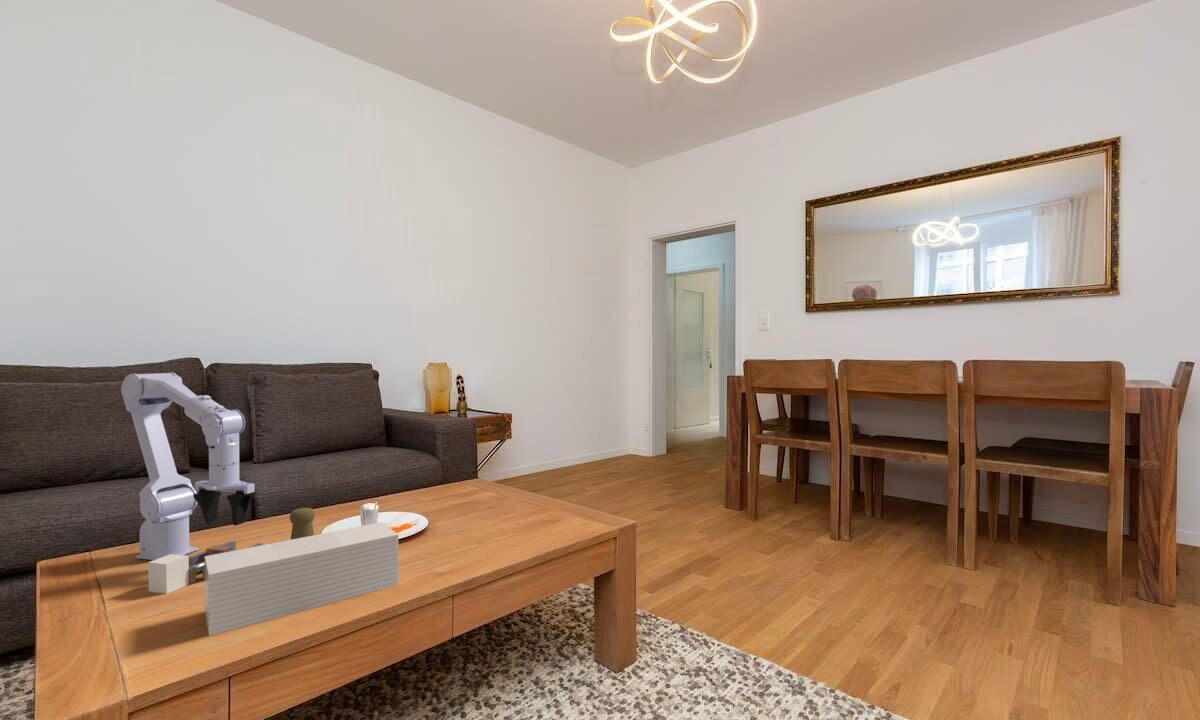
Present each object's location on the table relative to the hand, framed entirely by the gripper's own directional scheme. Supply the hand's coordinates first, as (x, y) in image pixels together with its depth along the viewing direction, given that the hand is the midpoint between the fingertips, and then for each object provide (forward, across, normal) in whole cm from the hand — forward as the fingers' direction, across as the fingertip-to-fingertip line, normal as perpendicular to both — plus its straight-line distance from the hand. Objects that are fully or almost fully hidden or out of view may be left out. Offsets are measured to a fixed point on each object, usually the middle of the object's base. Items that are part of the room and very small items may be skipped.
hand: (224, 522), depth 123 cm
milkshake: (+10, +22, +22) cm, 32 cm away
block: (+10, 0, -13) cm, 16 cm away
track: (+9, 0, -1) cm, 9 cm away
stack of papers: (+10, +31, -11) cm, 35 cm away
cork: (+10, +13, +9) cm, 18 cm away
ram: (+9, 0, -5) cm, 11 cm away
